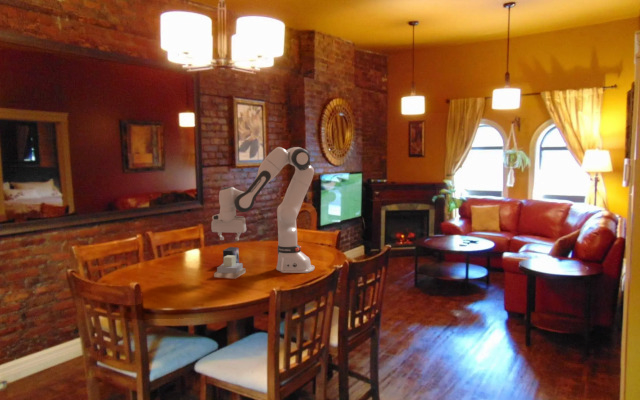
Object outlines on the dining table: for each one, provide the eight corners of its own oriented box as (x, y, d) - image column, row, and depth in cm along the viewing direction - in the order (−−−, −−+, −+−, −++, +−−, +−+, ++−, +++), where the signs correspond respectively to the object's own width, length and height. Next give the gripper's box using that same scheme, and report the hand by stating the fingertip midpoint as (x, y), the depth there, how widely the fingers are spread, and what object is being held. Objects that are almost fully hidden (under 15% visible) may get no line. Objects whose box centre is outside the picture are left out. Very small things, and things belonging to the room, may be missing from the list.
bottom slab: (245, 273, 263) (245, 268, 263) (235, 279, 251) (235, 274, 251) (225, 272, 267) (224, 267, 267) (214, 278, 254) (214, 272, 254)
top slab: (242, 268, 263) (242, 263, 263) (236, 273, 252) (236, 268, 252) (224, 267, 265) (224, 262, 264) (217, 272, 254) (217, 267, 254)
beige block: (235, 264, 260) (235, 255, 260) (231, 266, 256) (231, 257, 255) (228, 263, 262) (227, 255, 261) (223, 265, 257) (223, 257, 257)
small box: (233, 267, 274) (232, 250, 273) (222, 267, 275) (222, 250, 274) (239, 263, 284) (239, 247, 283) (229, 263, 285) (229, 246, 284)
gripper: (247, 215, 255) (248, 239, 257) (214, 214, 261) (216, 238, 263) (242, 216, 249) (244, 241, 251) (209, 216, 255) (210, 240, 257)
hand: (229, 240), depth 257 cm, fingers open, 8 cm apart
